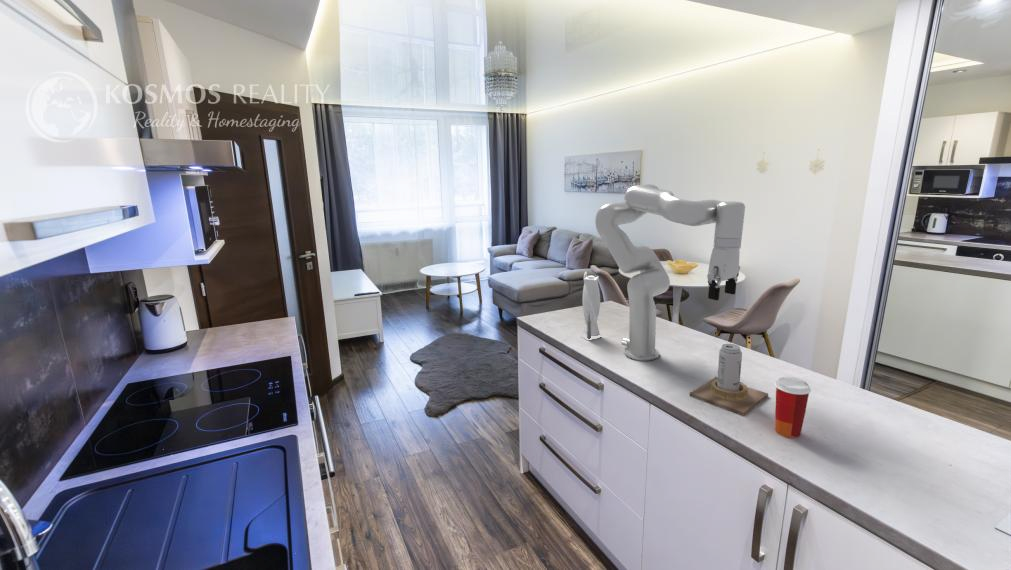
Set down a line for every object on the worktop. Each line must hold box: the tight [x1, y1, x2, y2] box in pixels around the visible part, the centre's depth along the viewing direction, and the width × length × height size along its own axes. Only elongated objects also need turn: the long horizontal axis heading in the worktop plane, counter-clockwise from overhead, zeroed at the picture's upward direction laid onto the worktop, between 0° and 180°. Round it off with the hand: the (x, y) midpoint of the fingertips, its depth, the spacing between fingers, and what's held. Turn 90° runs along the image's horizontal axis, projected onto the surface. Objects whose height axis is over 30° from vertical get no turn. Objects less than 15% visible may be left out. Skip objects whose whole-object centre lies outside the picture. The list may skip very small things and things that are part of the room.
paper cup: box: [774, 376, 812, 439], centre depth 113 cm, size 8×8×14 cm
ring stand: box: [689, 376, 769, 416], centre depth 133 cm, size 16×16×4 cm
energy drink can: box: [717, 343, 743, 392], centre depth 132 cm, size 6×6×15 cm
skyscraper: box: [581, 271, 601, 339], centre depth 186 cm, size 8×8×28 cm
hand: (721, 296), depth 139 cm, fingers open, 9 cm apart
